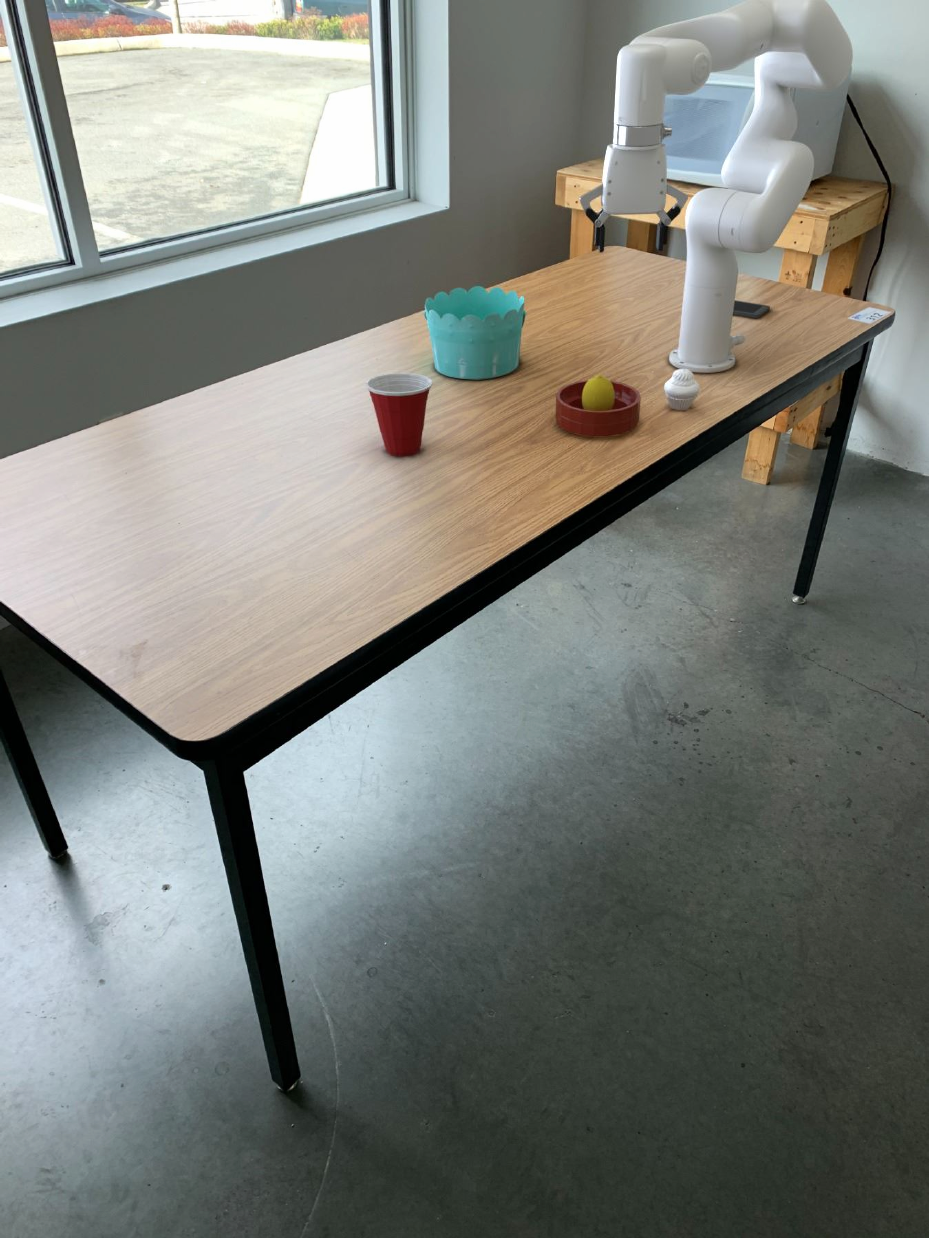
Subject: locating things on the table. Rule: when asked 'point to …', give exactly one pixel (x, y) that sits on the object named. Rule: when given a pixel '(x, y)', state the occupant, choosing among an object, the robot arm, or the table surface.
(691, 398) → the muffin
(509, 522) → the table surface
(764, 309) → the cell phone
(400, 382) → the plastic cup
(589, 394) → the lemon
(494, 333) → the basket
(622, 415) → the bowl
